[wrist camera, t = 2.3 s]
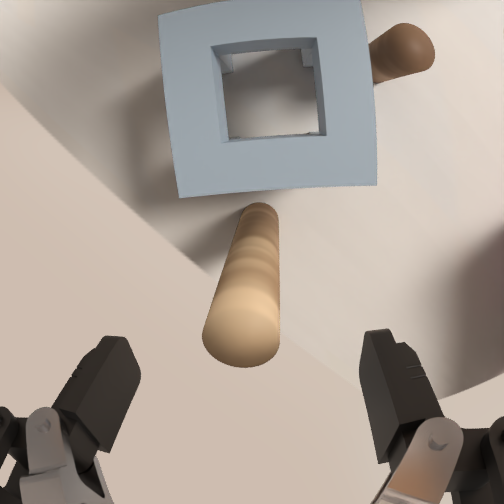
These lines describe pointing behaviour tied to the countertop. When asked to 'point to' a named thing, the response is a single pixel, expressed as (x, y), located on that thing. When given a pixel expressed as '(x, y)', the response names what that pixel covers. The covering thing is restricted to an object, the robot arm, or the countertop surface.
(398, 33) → the short pin
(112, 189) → the countertop surface
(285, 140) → the square frame
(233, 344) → the long pin
